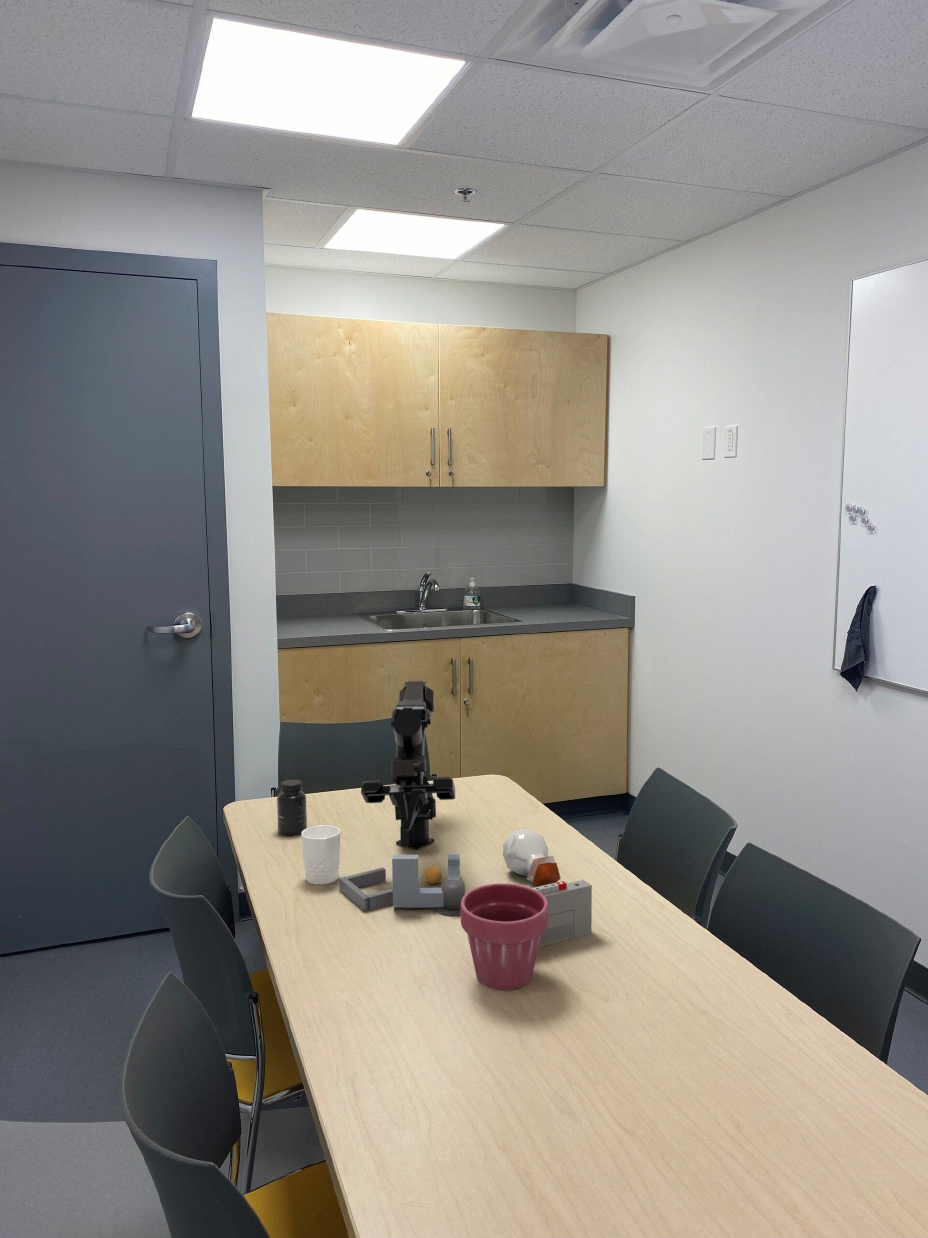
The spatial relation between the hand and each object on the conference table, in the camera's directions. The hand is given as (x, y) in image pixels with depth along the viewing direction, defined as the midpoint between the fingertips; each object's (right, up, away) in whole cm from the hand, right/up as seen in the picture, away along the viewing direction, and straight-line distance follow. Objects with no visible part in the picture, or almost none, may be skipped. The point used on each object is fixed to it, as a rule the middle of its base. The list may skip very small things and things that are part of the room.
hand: (407, 830), depth 177 cm
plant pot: (+18, -16, -33) cm, 41 cm away
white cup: (-18, -12, +7) cm, 22 cm away
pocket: (-6, -12, -1) cm, 14 cm away
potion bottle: (+25, -11, +6) cm, 28 cm away
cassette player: (+26, -15, -21) cm, 36 cm away
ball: (+5, -10, +3) cm, 12 cm away
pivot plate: (+9, -13, -8) cm, 18 cm away
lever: (+5, -12, -2) cm, 13 cm away
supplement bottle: (-29, -9, +34) cm, 46 cm away
